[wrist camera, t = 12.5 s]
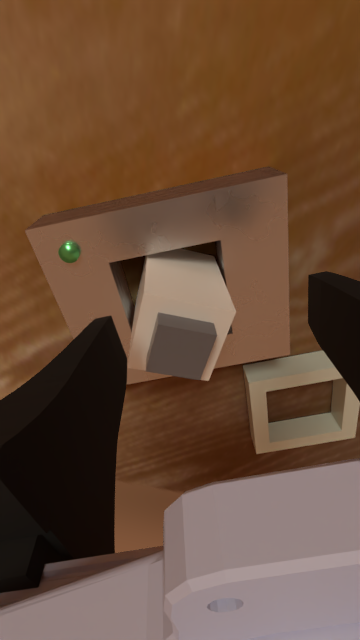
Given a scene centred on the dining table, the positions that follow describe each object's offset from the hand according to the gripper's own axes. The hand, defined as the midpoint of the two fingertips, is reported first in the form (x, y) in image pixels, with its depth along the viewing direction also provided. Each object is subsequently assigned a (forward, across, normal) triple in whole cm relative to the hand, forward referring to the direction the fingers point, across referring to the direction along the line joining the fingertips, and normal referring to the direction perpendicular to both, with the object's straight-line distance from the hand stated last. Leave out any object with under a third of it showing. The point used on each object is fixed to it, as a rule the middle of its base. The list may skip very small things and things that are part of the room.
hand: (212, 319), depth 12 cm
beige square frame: (+9, -6, +15) cm, 19 cm away
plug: (+9, +2, +2) cm, 10 cm away
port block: (+9, +2, +2) cm, 10 cm away
